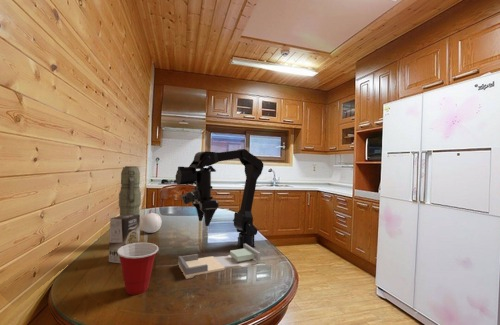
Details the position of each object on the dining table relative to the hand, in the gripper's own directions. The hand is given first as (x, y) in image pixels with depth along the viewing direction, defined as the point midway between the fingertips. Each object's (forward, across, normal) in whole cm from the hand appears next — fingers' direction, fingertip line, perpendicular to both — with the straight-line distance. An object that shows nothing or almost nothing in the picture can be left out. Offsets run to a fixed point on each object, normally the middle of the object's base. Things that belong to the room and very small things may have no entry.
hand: (203, 223), depth 97 cm
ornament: (+13, -46, -15) cm, 50 cm away
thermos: (+13, -28, -26) cm, 40 cm away
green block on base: (+13, +10, +12) cm, 20 cm away
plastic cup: (+13, +17, -24) cm, 32 cm away
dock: (+13, +10, +2) cm, 17 cm away
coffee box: (+13, -11, -28) cm, 32 cm away
